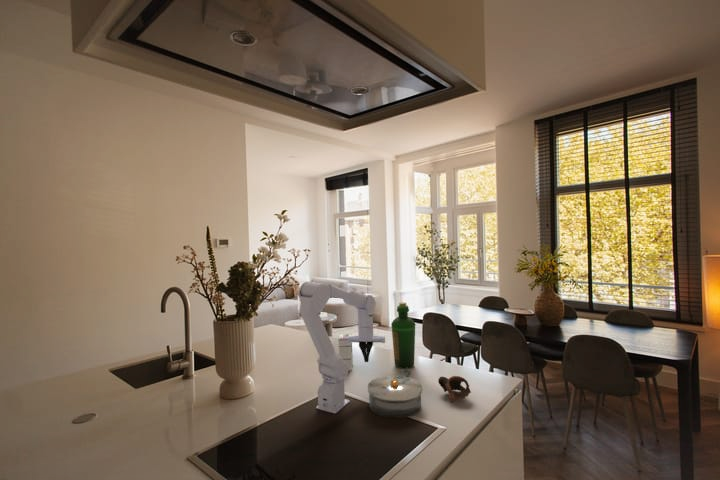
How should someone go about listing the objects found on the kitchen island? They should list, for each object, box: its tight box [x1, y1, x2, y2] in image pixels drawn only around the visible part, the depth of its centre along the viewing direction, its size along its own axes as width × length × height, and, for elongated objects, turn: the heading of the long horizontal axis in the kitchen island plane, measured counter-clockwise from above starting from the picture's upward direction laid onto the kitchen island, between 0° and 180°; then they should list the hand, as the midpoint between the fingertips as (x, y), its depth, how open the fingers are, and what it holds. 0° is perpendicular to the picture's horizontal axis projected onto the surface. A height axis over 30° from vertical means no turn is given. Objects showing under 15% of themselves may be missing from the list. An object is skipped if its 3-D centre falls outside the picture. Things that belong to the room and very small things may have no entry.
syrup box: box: [337, 333, 354, 372], centre depth 152 cm, size 6×6×14 cm
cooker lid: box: [367, 369, 423, 402], centre depth 121 cm, size 25×18×3 cm
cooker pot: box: [368, 393, 422, 419], centre depth 121 cm, size 24×18×5 cm
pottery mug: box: [437, 375, 472, 403], centre depth 123 cm, size 12×10×8 cm
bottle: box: [390, 302, 416, 370], centre depth 154 cm, size 11×11×28 cm
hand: (366, 361), depth 132 cm, fingers closed
